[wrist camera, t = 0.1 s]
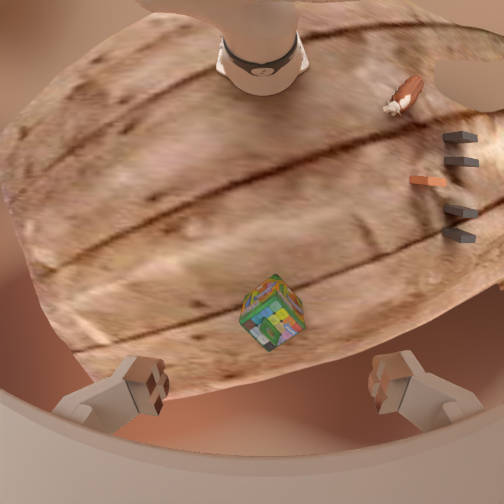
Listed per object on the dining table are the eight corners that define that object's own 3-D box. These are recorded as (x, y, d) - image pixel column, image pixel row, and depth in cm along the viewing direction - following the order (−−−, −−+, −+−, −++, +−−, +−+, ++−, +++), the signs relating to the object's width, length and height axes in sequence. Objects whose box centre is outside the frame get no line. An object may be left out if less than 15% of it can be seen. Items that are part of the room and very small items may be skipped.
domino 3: (443, 157, 50) (463, 156, 42) (458, 159, 49) (478, 159, 41) (444, 164, 50) (464, 164, 42) (458, 166, 50) (478, 167, 42)
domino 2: (442, 134, 48) (462, 131, 40) (457, 137, 48) (477, 134, 40) (443, 140, 48) (462, 138, 41) (457, 143, 48) (477, 142, 40)
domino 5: (442, 228, 54) (461, 235, 46) (456, 228, 54) (475, 235, 46) (441, 234, 54) (460, 243, 47) (456, 234, 54) (475, 242, 46)
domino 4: (443, 204, 52) (463, 209, 45) (458, 205, 52) (478, 210, 44) (443, 211, 53) (462, 217, 45) (457, 212, 53) (477, 217, 45)
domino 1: (409, 175, 52) (427, 176, 44) (427, 177, 51) (446, 178, 44) (409, 182, 52) (427, 185, 44) (427, 184, 52) (446, 186, 44)
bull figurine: (369, 112, 49) (384, 104, 41) (404, 78, 46) (420, 68, 38) (383, 127, 49) (400, 121, 42) (417, 93, 46) (434, 85, 38)
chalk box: (302, 301, 61) (310, 338, 47) (269, 324, 63) (268, 364, 49) (275, 271, 59) (277, 301, 45) (243, 296, 61) (235, 331, 47)
